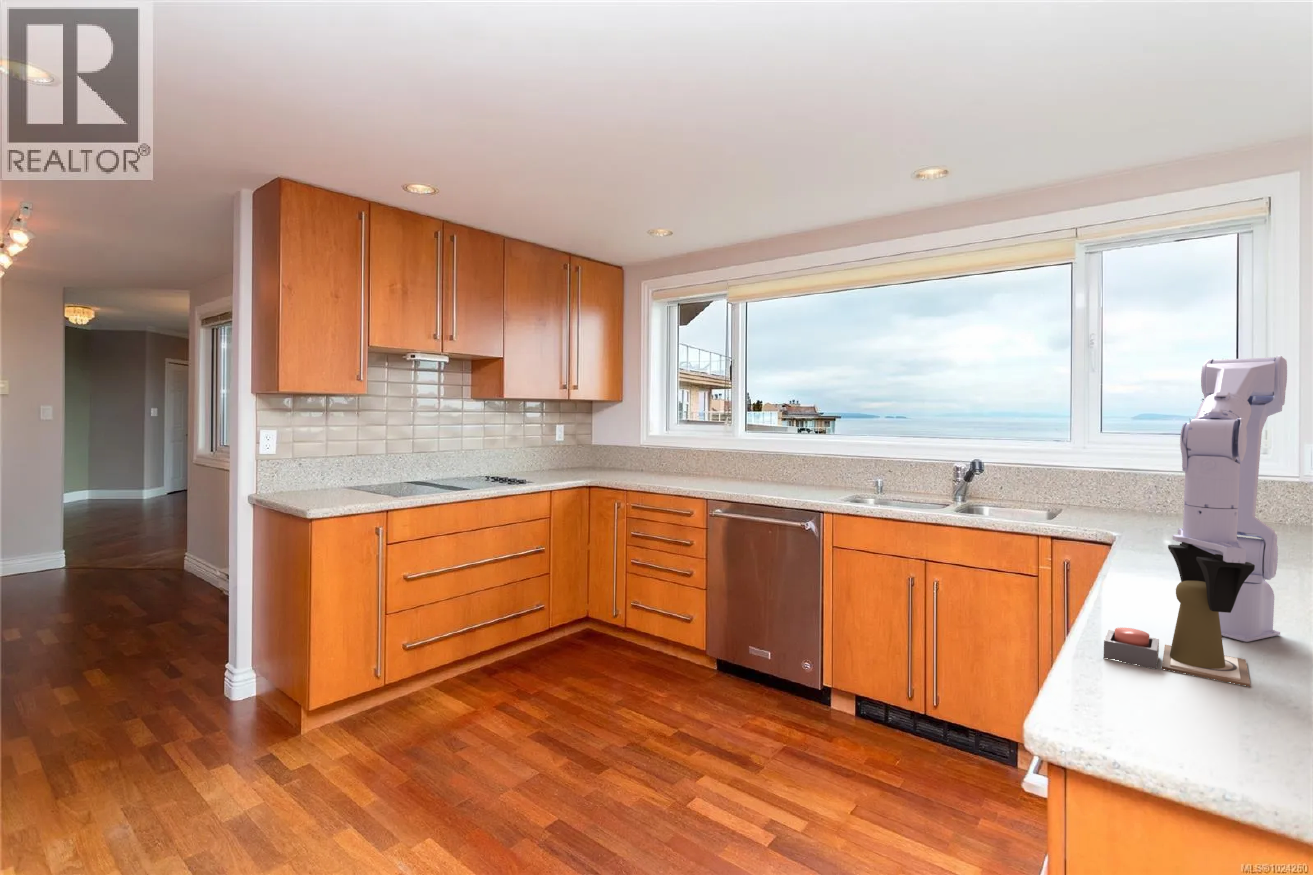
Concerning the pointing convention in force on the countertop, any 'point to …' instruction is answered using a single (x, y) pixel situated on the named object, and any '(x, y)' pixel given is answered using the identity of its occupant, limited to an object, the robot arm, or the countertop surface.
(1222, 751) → the countertop surface
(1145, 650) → the button housing
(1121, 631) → the button
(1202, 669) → the sketch board
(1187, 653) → the brown tapered cone
